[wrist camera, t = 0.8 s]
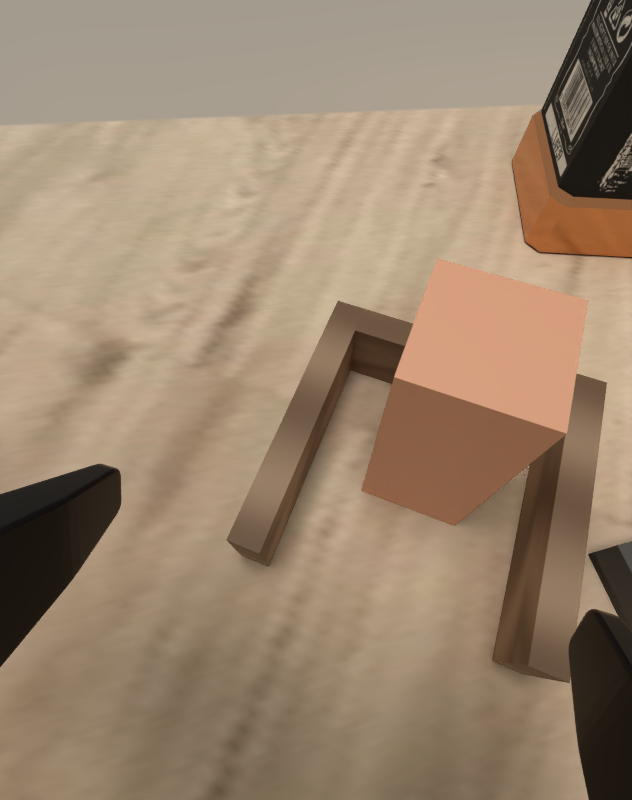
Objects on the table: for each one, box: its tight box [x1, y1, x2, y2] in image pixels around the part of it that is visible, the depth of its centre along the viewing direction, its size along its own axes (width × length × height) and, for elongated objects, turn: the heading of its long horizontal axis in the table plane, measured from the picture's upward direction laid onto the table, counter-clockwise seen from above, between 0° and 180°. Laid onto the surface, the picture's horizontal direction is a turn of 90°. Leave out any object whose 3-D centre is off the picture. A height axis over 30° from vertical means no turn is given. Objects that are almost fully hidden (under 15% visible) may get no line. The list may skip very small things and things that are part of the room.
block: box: [361, 259, 588, 526], centre depth 20 cm, size 5×5×12 cm
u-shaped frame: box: [227, 301, 607, 683], centre depth 23 cm, size 14×14×4 cm
